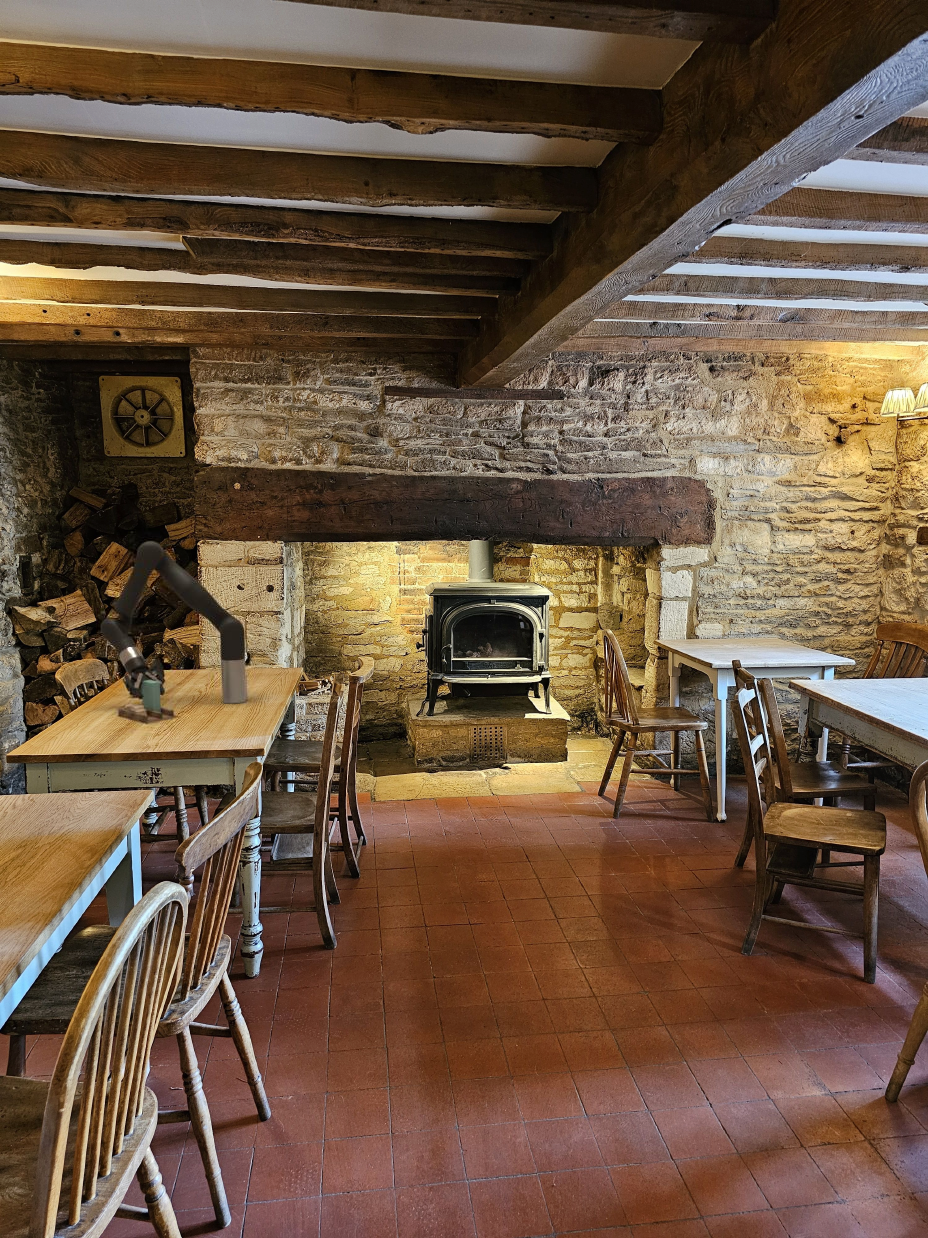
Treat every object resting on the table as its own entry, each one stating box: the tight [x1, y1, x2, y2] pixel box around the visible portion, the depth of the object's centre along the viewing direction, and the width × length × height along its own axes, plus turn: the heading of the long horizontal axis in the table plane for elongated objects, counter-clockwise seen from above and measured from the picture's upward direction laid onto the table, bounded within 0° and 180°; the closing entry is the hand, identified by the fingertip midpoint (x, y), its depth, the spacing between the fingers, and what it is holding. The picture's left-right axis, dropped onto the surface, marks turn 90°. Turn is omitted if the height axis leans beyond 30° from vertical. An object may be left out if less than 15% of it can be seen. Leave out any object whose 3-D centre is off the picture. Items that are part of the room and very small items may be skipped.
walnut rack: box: [116, 706, 181, 725], centre depth 294 cm, size 20×13×4 cm, turn 53°
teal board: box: [141, 680, 162, 712], centre depth 297 cm, size 7×3×12 cm, turn 53°
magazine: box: [129, 658, 166, 697], centre depth 342 cm, size 17×3×30 cm
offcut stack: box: [125, 703, 147, 716], centre depth 293 cm, size 8×4×4 cm, turn 53°
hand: (152, 696), depth 296 cm, fingers open, 8 cm apart
